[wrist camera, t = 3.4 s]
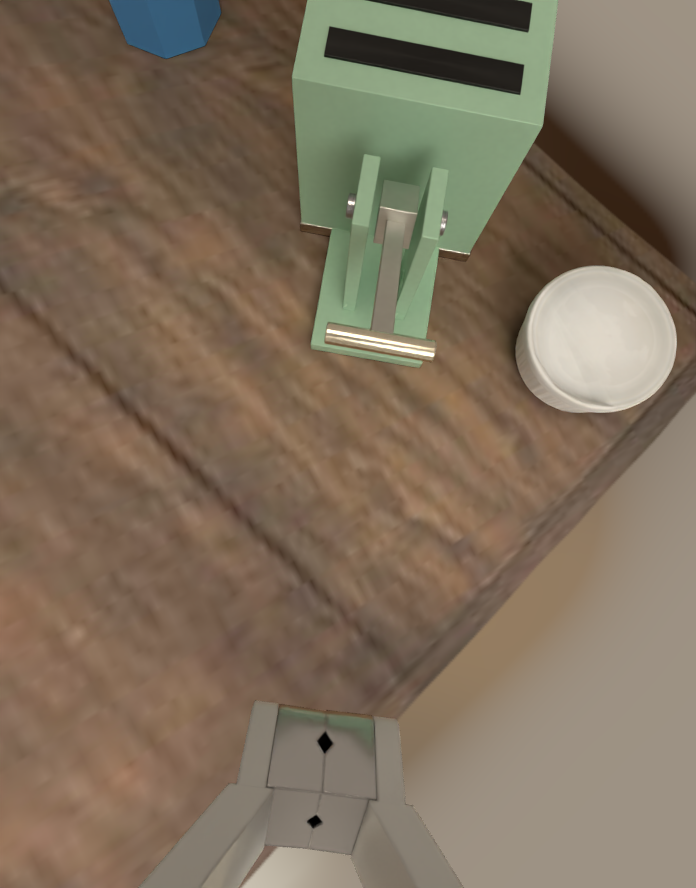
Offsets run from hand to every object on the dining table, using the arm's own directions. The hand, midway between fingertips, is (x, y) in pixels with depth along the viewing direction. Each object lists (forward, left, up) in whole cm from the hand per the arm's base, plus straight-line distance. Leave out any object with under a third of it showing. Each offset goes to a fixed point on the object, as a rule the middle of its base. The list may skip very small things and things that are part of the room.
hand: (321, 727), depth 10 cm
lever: (-5, +17, -16) cm, 24 cm away
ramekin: (+9, +25, -28) cm, 39 cm away
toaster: (-10, +30, -28) cm, 42 cm away
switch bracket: (-7, +21, -28) cm, 36 cm away
